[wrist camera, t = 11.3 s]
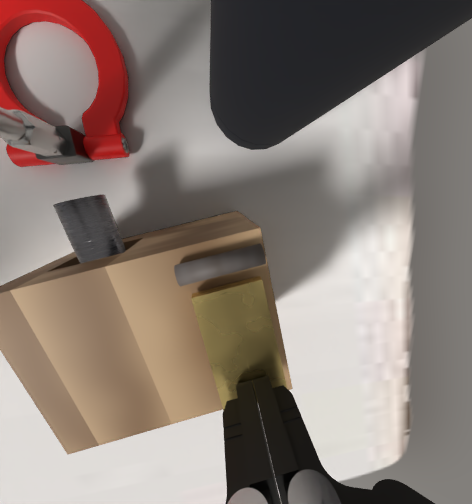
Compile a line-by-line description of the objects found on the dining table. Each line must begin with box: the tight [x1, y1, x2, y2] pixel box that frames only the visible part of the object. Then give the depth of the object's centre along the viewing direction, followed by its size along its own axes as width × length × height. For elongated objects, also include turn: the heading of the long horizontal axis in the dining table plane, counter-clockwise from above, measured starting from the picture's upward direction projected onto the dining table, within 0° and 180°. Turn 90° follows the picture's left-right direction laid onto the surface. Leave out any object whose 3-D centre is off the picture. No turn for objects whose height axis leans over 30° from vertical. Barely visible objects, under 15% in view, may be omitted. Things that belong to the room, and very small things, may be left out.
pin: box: [53, 195, 126, 264], centre depth 14 cm, size 13×5×5 cm, turn 13°
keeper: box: [191, 276, 287, 410], centre depth 10 cm, size 3×6×1 cm, turn 13°
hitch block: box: [0, 211, 292, 454], centre depth 14 cm, size 12×9×9 cm
